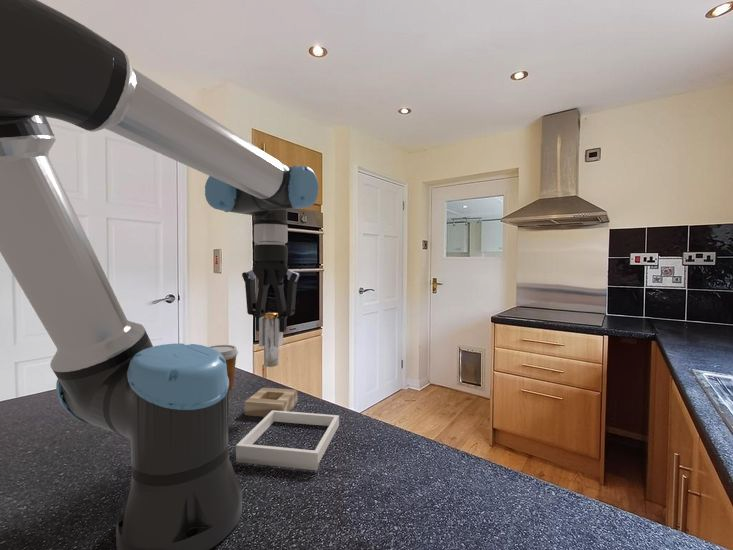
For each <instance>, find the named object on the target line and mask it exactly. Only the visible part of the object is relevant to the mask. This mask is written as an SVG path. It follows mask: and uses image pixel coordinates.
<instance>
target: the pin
mask: <svg viewBox="0 0 733 550" xmlns="http://www.w3.org/2000/svg"><path fill="white" fill-rule="evenodd" d="M263 317H264V346H263V366H264V367H266V368H267V367H268V368H274V367H278V365H279V347H275V319H276V318H277V317H278V312H264V316H263Z"/></svg>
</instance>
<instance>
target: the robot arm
mask: <svg viewBox="0 0 733 550" xmlns="http://www.w3.org/2000/svg"><path fill="white" fill-rule="evenodd" d="M47 118H51V119H56V120H59V121H63V122H66V123H69V124H72V125H74V126H76V127H79V128H80V129H82V130H83V129H84V130H85V131H87V132H98V131H101V130H103V129H106V130H107V131H110V132H112V133H115V134H117V135H118V136H121V137H123V138H125V139H127V140H130V141H132V142H134V143H136V144H139V145H141V146H143V147H145V148H147V149H149V150H152V151H154V152H156V153H157V154H158V153H159V154H161V155H162V156H164V157H167V158H169V159H172V160H173V161H176V162H178V163H180V164H182V165H185V166H187V167H189V168H190V169H191V168H192V169H194V170H196V171H197V172H201V173H202V174H204V175H207V176H208V178H207V179H206V181H205V185H204V196H205V199H206V202H207V204H208V205H209V206H210V207H212V208H213V209H214V210H218V211H223V212H224V213H235V214H242V215H249V216H253V242H254V243H256V244H255V245H254V246H253V260H254V261H253V262H254V264H253V267H252V269H250V270H249V271H245V272H242V273H241V277H242V278H243V279H242V280H243V281H244V287H245V296H246V297H245V300H246V313H247V314H248V315H252V316H253V317H254V318H255V332H258V347H262V348H263V347H264V313H266V305H267V299H268V292H269V291H268V290H269V289H270V288H269V287H270V285H272V289H273V290H274V296H275V303H276V310H277V313H278V317H277V318H276V319H275V347H278V348H280V347H281V346H283V345H284V333H285V332H286V331H287V326H288V325H287V324H288V323H287V319H288V317H289V316H290V317H291V316H292V315H294V314H295V313H296V312H295V311H296V302H297V301H296V300H297V297H296V296H297V288H298V287H297V286H298V283H299V282H298V281H299V279H300V278H301V274H300V273H299V272H295V271H292V270H290V267H289V265H288V259H289V258H288V256H289V255H288V253H289V251H288V250H289V249H288V248H289V247H288V245H286V244H287V243H288V242H289V241H288V240H289V239H288V235H289V234H288V228H289V226H288V225H289V224H288V210H299V209H303V208H309V207H311V206H314V204H315V203H316V202H317V200H318V197H319V189H320V188H319V187H320V186H319V181H318V178H317V175H316V173H315V172H314V170H313V169H312V168H310V166H306V165H298V164H297V165H296V164H295V165H293V166H288V165H286V164H285V163H283V162H281V161H279V160H278V159H277V158H275V157H273V156H272V155H270V154H268V153H267V152H265V151H264V150H262V149H261V148H259V147H257V146H256V145H255V144H253V143H251V142H249V141H248V140H246V139H245V138H243V137H242V136H240V135H239V134H237V133H236V132H234V131H232V130H231V129H229V128H228V127H227V126H224V125H223V124H221V123H220V122H218V121H217V120H216V119H214V118H212V117H210V116H209V115H208V114H206V113H204V112H202V111H201V110H199V109H198V108H196V107H195V106H194V105H192V104H191V103H188V102H187V101H185V100H183V99H182V98H180V97H179V96H177V95H176V94H174V93H173V92H171V91H170V90H168V89H166V88H165V87H163V86H162V85H160V84H159V83H157V82H156V81H154V80H153V79H151V78H149V77H148V76H146V75H144V74H143V73H141V72H140V71H139V70H137V69H135V68H133V67H132V65H131V63H130V59H129V57H128V55H127V54H126V52H125V51H124V50H122V49H121V47H120V48H119V47H118V46H116V45H115V44H114V43H112V42H111V41H109V40H107V39H106V38H104V37H103V36H101V34H100V35H99V34H98V33H97V32H95V31H94V30H92V29H90V28H89V27H87V26H86V25H84V24H82V23H80V22H79V21H77V20H75V19H74V18H71V16H68V15H66V14H64V13H62V12H61V11H59V10H57V9H55V8H53V7H51V6H49V5H47V4H45V3H43V2H42V1H40V0H0V254H1V256H2V258H3V259H4V261H5V263H6V264H7V266H8V268H9V269H10V271H11V273H12V275H13V277H14V278H15V280H16V282H17V283H18V285H19V286H20V288H21V290H22V291H23V293H24V295H25V296H26V299H27V300H28V302H29V305H31V307H32V309H33V310H34V312H35V313H36V316H37V317H38V319H39V320H40V322H41V324H42V325H43V327H44V329H45V331H46V332H47V334H48V335H49V338H50V339H51V341H52V342H53V344H54V346H55V348H56V352H55V353H54V356H53V357H52V359H51V360H50V368H51V370H52V372H53V373H54V375H55V377H56V378H57V379H56V385H55V390H56V396H57V398H58V401H59V403H60V404H61V406H62V407H63V409H64V410H66V412H67V413H68V414H69V415H71V416H72V417H73V418H74V419H76V420H77V421H80V422H82V423H84V424H88V425H92V426H95V427H98V428H101V429H102V430H106V431H109V432H112V433H114V434H117V435H120V436H123V437H124V438H127V439H129V441H130V463H131V480H130V483H129V486H128V488H127V492H126V494H125V495H126V496H125V497H124V501H123V503H122V504H123V505H122V508H121V511H120V514H119V517H118V519H117V522H116V527H115V539H116V540H115V542H116V543H115V544H116V546H115V547H116V550H211V549H213V548H214V547H215V546H217V545H218V544H220V543H221V542H222V541H224V539H225V538H227V537H228V535H230V534H231V533H232V532H233V530H234V528H236V526H237V525H238V523H239V521H240V519H241V516H242V514H243V513H242V512H243V492H242V488H241V485H240V483H239V481H238V478H237V475H236V472H235V469H234V467H233V463H232V462H231V459H230V456H229V405H230V403H229V402H230V401H229V395H230V394H229V392H230V391H229V378H228V376H227V365H226V361H225V358H224V357H223V355H222V354H221V353H220V352H218V351H217V350H215V349H213V348H210V346H206V345H202V344H197V343H196V344H195V343H190V344H185V343H179V342H178V343H168V344H165V343H164V344H159V345H153V344H152V342H151V339H150V337H149V335H148V333H147V331H146V328H145V327H144V325H143V324H141V323H136V322H135V321H134V322H133V321H130V320H128V318H127V317H126V315H125V312H124V310H123V308H122V306H121V304H120V301H119V300H118V298H117V296H116V294H115V292H114V289H113V288H112V285H111V284H110V281H109V279H108V277H107V276H106V274H105V271H104V269H103V266H102V265H101V262H100V260H99V259H98V256H97V255H96V252H95V250H94V248H93V246H92V244H91V242H90V240H89V237H88V236H87V234H86V232H85V229H84V227H83V225H82V224H81V222H80V219H79V217H78V215H77V213H76V210H75V209H74V207H73V205H72V203H71V201H70V199H69V197H68V194H67V192H66V190H65V188H64V187H63V184H62V182H61V180H60V178H59V176H58V173H57V172H56V170H55V167H54V165H53V164H52V161H51V160H50V157H49V153H50V151H51V148H52V147H53V145H54V143H55V142H56V140H57V139H56V137H55V133H53V130H52V128H51V125H50V124H49V121H48V119H47ZM286 277H287V280H288V282H287V289H286V290H287V292H286V293H287V294H286V297H285V291H284V287H285V284H284V280H285V278H286ZM255 278H257V279H258V283H257V288H258V291H257V293H256V281H255Z"/></svg>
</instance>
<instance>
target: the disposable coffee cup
mask: <svg viewBox="0 0 733 550" xmlns="http://www.w3.org/2000/svg"><path fill="white" fill-rule="evenodd" d="M209 347H210V348H213V349H215V350H217V351H218V352H220V353H221V354H222V355H223V357H224V358H225V361H226V365H227V376H228V378H229V392H230V391H232V390H233V388H234V378H235V370H236V361H237V356H238V354H239V351H238V350H237V347H236V346H235V345H230V344H217V345H211V346H209Z"/></svg>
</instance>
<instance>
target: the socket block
mask: <svg viewBox="0 0 733 550" xmlns="http://www.w3.org/2000/svg"><path fill="white" fill-rule="evenodd" d="M297 403H298V389H289V388H277V387H261V388H260V389H259V390H258V391H256V392H255V393H254V394H252V395H251V396H250V397H249V398H247V399H246V400H244V416H251V417H263V418H265V417H266V416H267V415H268V414H269V413H270V412H271V411H272V410H276V411H288V412H291V410H292V409H293V408H294V406H296V404H297Z"/></svg>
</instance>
